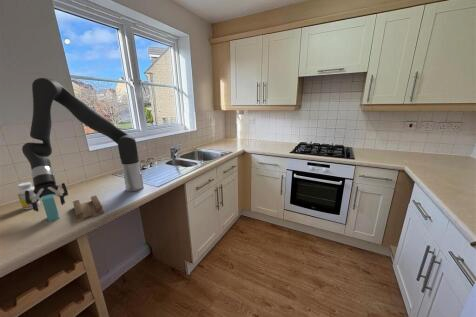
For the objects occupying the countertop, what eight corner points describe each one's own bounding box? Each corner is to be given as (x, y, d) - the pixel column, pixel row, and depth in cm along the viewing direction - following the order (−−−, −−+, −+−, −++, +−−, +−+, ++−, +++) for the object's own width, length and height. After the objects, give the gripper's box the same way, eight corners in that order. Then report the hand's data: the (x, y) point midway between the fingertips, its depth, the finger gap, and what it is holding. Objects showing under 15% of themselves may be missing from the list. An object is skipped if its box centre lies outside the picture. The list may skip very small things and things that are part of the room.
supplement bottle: (27, 204, 105) (20, 182, 102) (43, 202, 108) (36, 180, 104) (19, 211, 99) (11, 187, 96) (36, 208, 102) (29, 185, 98)
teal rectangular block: (58, 214, 96) (52, 193, 93) (59, 218, 93) (52, 197, 90) (48, 217, 94) (42, 195, 91) (48, 221, 90) (41, 199, 87)
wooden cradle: (97, 201, 109) (96, 195, 108) (103, 213, 97) (102, 206, 96) (74, 207, 102) (72, 201, 101) (77, 221, 90) (76, 214, 89)
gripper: (20, 177, 88) (25, 210, 84) (62, 170, 98) (69, 199, 93) (24, 185, 94) (30, 216, 89) (64, 177, 103) (71, 205, 98)
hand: (50, 207), depth 91 cm, fingers open, 8 cm apart
